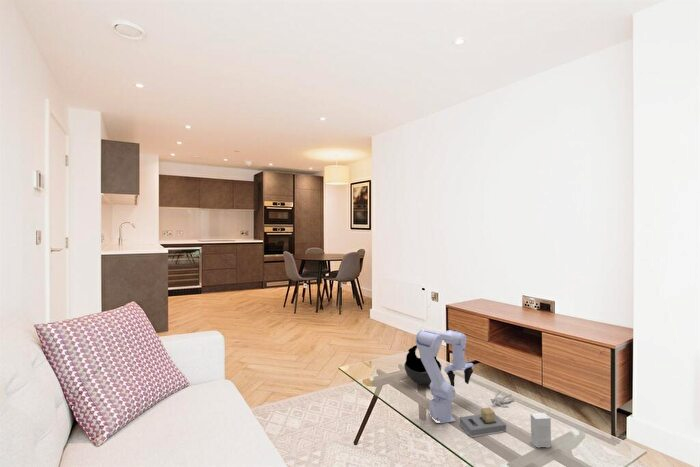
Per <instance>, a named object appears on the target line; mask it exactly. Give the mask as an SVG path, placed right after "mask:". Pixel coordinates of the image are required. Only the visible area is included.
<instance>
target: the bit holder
mask: <svg viewBox="0 0 700 467" xmlns="http://www.w3.org/2000/svg"><path fill="white" fill-rule="evenodd" d="M459 424H460V426H461V427H462V428H463V429H464V430H465V431H466V433H467V434H468V436H469V437H470V438H474V437H482V436H487V435H494V434H500V432H501V433H504V432H503V431H505V430H506V431H507V424H506V423H505V422H504V421H503V420H502V419H501V418H499V417H498V416H497V414H495V423H492V424H486V425H485V424H484V423H483V422H482V421H481V413H480V414H472V415H465V416H460V417H459Z"/></svg>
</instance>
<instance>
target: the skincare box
mask: <svg viewBox="0 0 700 467" xmlns="http://www.w3.org/2000/svg"><path fill="white" fill-rule="evenodd" d="M551 422H552V421H551V417H550V416H549V415H547V414H546V412H536V413H535V412H534V413H530V440H531V441H532V442H533V443H534V444H535V446H536V447H546V448H552V430H551V429H552V425H551V424H552V423H551ZM531 441H530V442H531ZM532 442H531V443H532ZM533 443H532V444H533ZM535 446H534V447H535ZM536 447H535V448H536Z"/></svg>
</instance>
